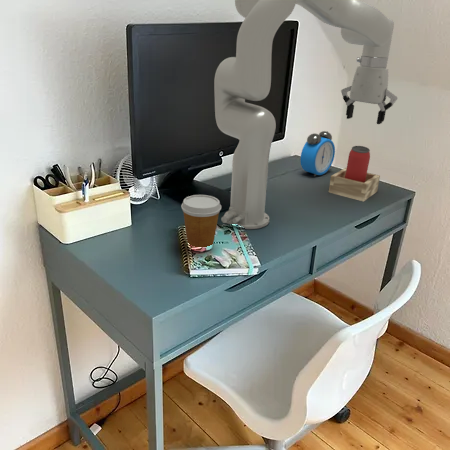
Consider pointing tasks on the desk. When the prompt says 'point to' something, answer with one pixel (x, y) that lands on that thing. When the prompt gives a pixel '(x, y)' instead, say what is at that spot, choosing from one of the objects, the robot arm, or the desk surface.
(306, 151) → the alarm clock
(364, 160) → the beer can
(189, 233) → the disposable coffee cup
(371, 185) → the wooden box
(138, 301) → the desk surface
